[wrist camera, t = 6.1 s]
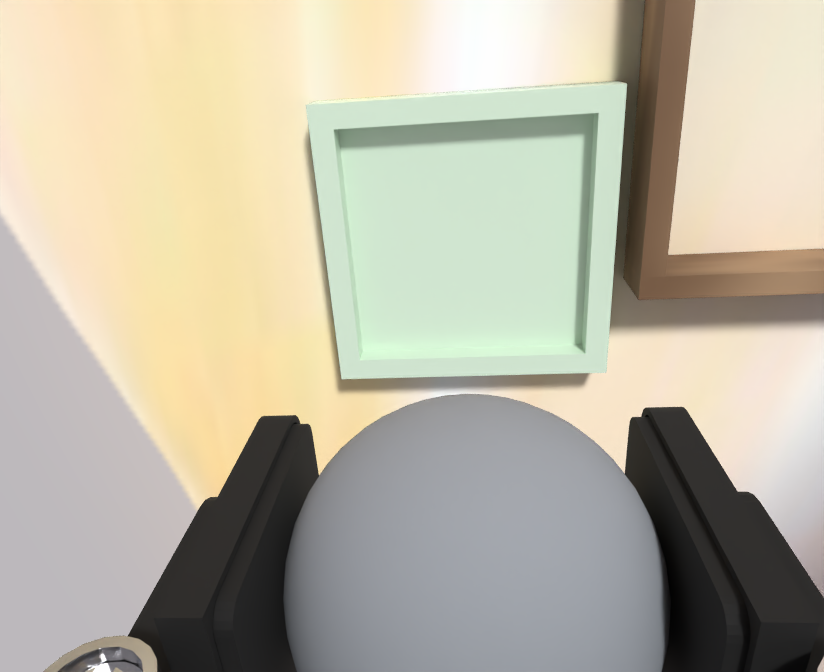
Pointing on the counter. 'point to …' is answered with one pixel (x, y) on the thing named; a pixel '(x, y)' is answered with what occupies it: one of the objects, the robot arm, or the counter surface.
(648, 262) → the wooden picture frame
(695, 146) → the counter surface
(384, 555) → the ball
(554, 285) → the dish
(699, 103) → the counter surface
